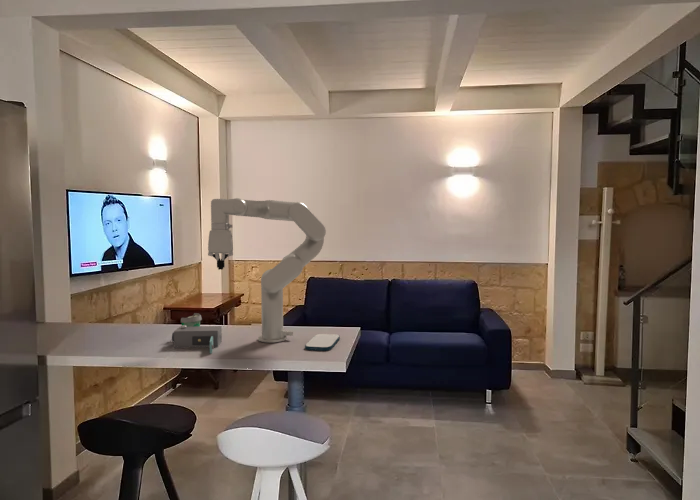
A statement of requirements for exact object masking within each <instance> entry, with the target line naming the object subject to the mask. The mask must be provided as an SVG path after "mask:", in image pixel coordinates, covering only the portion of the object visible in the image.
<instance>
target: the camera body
mask: <svg viewBox="0 0 700 500" xmlns="http://www.w3.org/2000/svg"><path fill="white" fill-rule="evenodd" d="M222 330H223V329H222V325H217V326H215V325H213V326H211V325H207V326H206V325H202V326H201V325H200V326H196V327H187V326H186V325H182V324H181V325H180V326H179V327H177V328H176V329H175V330H174V331H173V332H172V335H171V341H172V342H173V346H174V347H173V348H175V349H181V348H184V347H192V348H210V339H211V336H214V348H219V346H220V345H221V344H222V342H223V341H222V334H223V333H222Z"/></svg>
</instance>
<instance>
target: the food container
mask: <svg viewBox="0 0 700 500" xmlns="http://www.w3.org/2000/svg"><path fill="white" fill-rule="evenodd" d="M202 320H203V318H202V315H201V314H200V313H197V312H194V313H193V315H189V316H187V317H181V318H180V323H181V326H182V325H186V326H187V327H196V326H201V321H202Z"/></svg>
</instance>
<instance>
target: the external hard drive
mask: <svg viewBox="0 0 700 500" xmlns="http://www.w3.org/2000/svg"><path fill="white" fill-rule="evenodd" d="M340 339H341V338H340V335H339V334H336V333H335V334H334V333H333V334H331V333H318V334H315V335H314V336H313V337H311V339H309V340H308V341H307V342H306V343H305V345H304V349H305V351H306V350H307V351H315V352H316V351H318V352H328V351H331V350H333V348H335V346H336V345H337V343H338V342H339V341H340Z"/></svg>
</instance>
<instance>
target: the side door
mask: <svg viewBox="0 0 700 500" xmlns="http://www.w3.org/2000/svg"><path fill="white" fill-rule="evenodd" d="M214 348H215V347H214V336H211V339H210V347H209V354H212V353H213V350H214Z"/></svg>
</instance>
